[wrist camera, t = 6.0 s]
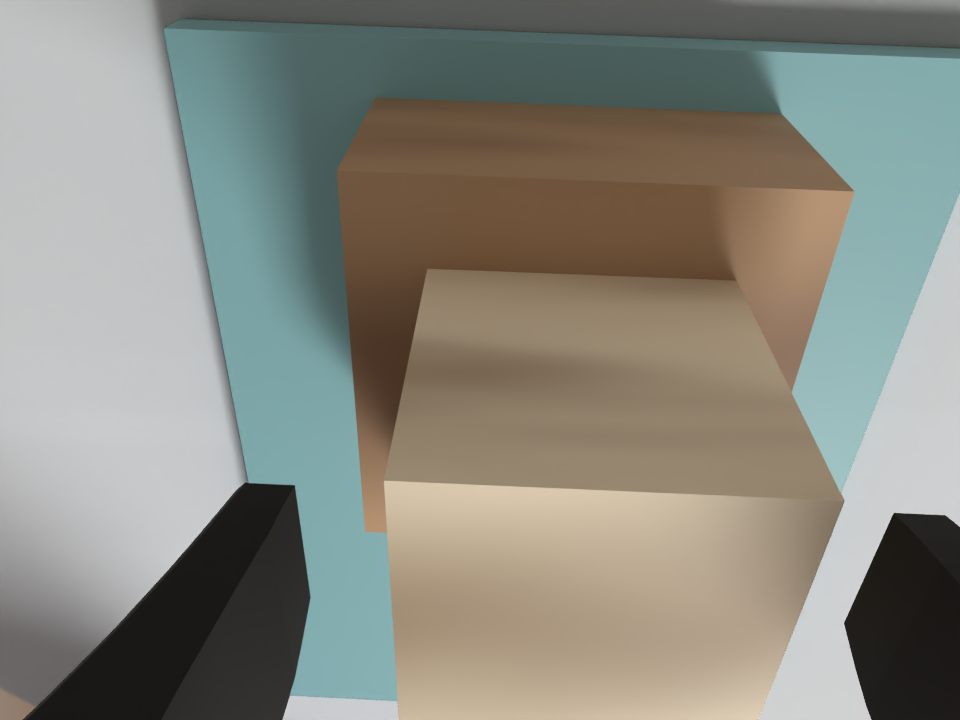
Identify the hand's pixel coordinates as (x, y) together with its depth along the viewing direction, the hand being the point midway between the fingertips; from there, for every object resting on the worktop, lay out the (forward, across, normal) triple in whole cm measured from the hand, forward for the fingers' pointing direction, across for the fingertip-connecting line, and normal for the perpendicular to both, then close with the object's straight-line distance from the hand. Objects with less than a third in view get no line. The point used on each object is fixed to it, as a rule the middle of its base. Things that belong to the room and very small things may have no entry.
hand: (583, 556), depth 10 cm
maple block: (+3, 0, 0) cm, 4 cm away
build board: (+8, 0, +5) cm, 9 cm away
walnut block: (+7, 0, 0) cm, 7 cm away
